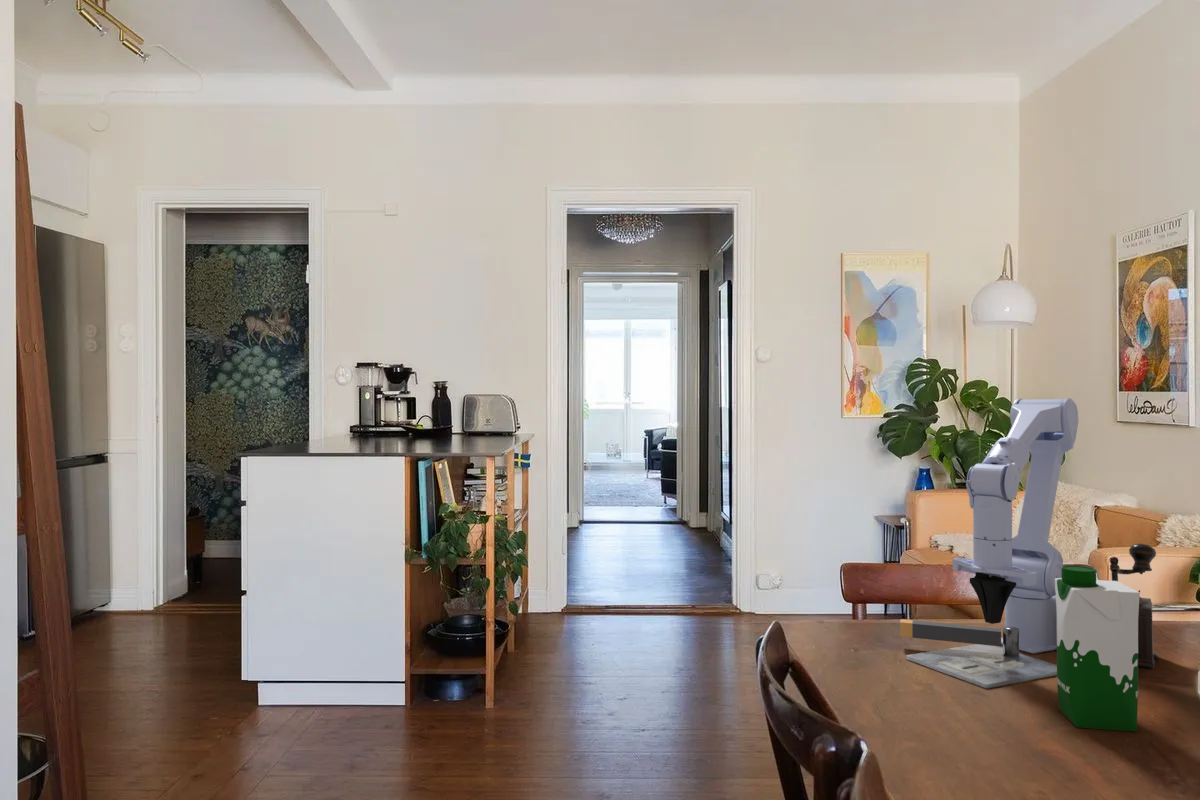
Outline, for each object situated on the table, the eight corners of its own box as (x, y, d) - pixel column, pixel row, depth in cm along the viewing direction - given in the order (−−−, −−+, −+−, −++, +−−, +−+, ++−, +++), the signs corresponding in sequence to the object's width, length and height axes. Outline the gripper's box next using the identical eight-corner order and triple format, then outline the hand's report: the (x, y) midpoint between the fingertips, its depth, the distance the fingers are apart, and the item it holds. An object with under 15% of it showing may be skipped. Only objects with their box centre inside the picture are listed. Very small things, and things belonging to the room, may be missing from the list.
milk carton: (1049, 706, 117) (1048, 561, 117) (1121, 710, 115) (1120, 564, 115) (1071, 729, 108) (1070, 574, 109) (1149, 735, 107) (1148, 577, 107)
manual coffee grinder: (1158, 671, 133) (1158, 556, 133) (1078, 659, 139) (1077, 550, 139) (1156, 647, 146) (1156, 543, 146) (1083, 637, 152) (1082, 537, 152)
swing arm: (1000, 643, 141) (1000, 628, 141) (1001, 647, 139) (1001, 631, 139) (900, 633, 147) (900, 619, 147) (900, 636, 145) (899, 622, 145)
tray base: (984, 646, 146) (984, 617, 146) (1069, 672, 132) (1069, 640, 132) (905, 659, 139) (905, 628, 139) (986, 688, 124) (986, 654, 124)
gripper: (939, 533, 141) (939, 614, 141) (1014, 546, 128) (1014, 636, 128) (969, 530, 144) (969, 610, 144) (1045, 543, 131) (1046, 630, 131)
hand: (992, 622), depth 136 cm, fingers closed
